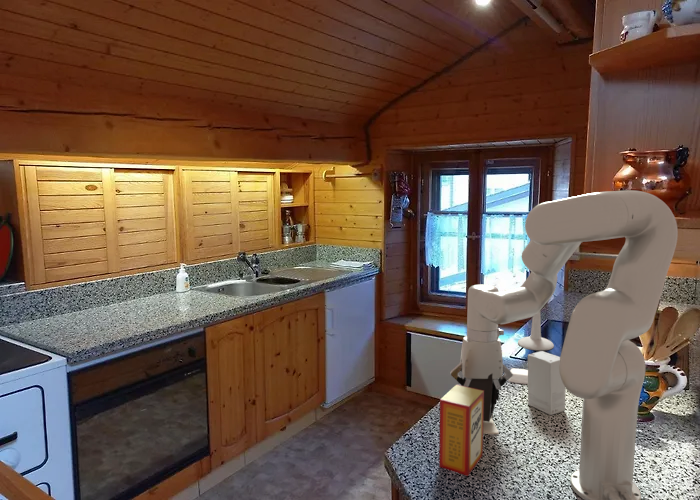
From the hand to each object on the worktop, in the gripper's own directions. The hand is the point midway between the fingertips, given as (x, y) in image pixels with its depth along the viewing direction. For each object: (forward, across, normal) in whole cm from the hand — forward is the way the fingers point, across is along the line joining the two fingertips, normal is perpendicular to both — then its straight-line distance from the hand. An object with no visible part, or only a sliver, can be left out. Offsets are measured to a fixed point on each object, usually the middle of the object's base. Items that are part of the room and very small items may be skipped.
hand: (480, 401), depth 127 cm
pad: (+6, 0, 0) cm, 6 cm away
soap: (+7, -19, -30) cm, 36 cm away
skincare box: (+6, -20, -10) cm, 23 cm away
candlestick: (+7, -33, -63) cm, 71 cm away
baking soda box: (+6, +7, +17) cm, 20 cm away
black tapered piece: (+3, 0, 0) cm, 3 cm away
